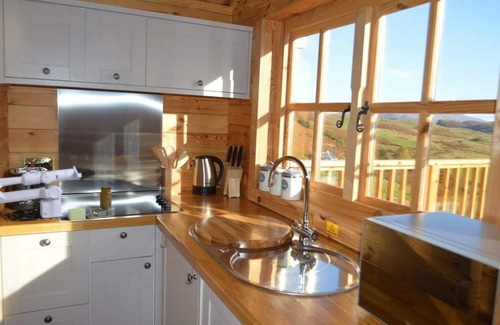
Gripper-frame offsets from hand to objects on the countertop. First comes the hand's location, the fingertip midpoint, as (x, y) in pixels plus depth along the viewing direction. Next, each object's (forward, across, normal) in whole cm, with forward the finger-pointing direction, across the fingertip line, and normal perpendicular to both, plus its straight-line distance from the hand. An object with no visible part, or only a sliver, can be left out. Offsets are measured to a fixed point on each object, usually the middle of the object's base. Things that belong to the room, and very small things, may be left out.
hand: (92, 172), depth 219 cm
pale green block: (-12, -12, +21) cm, 27 cm away
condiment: (+7, +6, +22) cm, 24 cm away
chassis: (-1, -10, +22) cm, 24 cm away
